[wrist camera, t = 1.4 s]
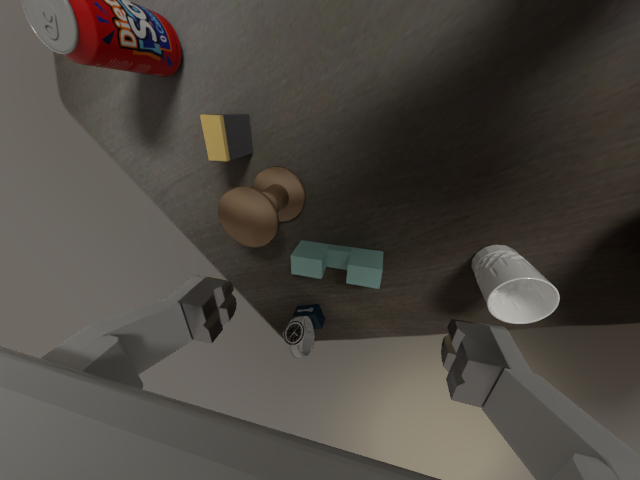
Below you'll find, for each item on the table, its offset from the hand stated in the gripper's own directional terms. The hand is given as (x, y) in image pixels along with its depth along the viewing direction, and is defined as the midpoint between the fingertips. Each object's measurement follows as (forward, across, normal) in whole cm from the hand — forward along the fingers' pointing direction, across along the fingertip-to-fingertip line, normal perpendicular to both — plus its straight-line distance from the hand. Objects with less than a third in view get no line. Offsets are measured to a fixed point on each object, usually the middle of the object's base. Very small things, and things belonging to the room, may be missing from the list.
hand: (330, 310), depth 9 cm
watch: (+34, +11, +34) cm, 50 cm away
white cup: (+34, -22, +15) cm, 43 cm away
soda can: (+33, +34, -16) cm, 50 cm away
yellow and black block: (+33, +22, -4) cm, 40 cm away
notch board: (+34, +4, +18) cm, 38 cm away
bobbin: (+34, +16, +6) cm, 38 cm away
